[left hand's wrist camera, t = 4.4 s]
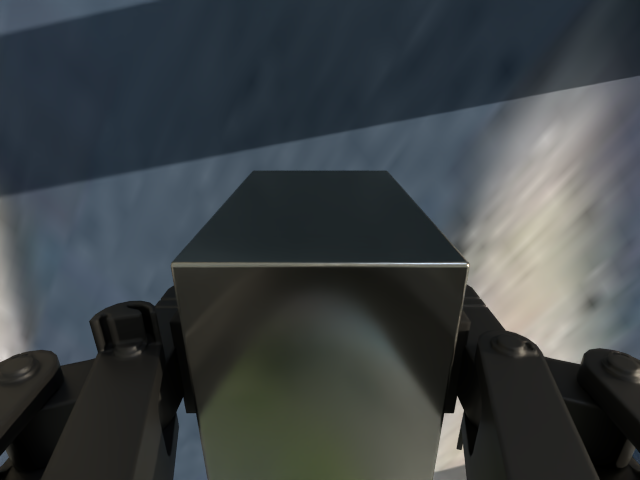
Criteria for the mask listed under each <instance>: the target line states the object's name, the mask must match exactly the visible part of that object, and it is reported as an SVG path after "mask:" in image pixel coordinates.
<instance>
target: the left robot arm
mask: <svg viewBox="0 0 640 480" xmlns="http://www.w3.org/2000/svg"><path fill="white" fill-rule="evenodd" d="M89 322H90V326H91V329H92V333H93V336H94V340H95V343H96V347H97V350H98V354H97V356H96V358H95V359H91V360H87V361H82V362H77V363H72V364H67V365H62V366H60V363H59V360H58V357H57V355H56V354H54V353H53V352H52V351H46V350H37V351H29V352H24V353H21V354H17V355H14V356H12V357H10V358H8V359H6V360H4V361H2V362H0V456H1V454H2V453H3V452H4V451H5V450H6V452H7V454H8V456H9V458H8V459H7V461H6V462H5V463H4V464H3V465H2V466H1V467H0V480H173V476H174V467H175V458H176V448H177V439H178V430H179V424H178V418H177V413H176V412H177V409H178V407H179V405H180V403H181V400H182V398H184V403H185V408H186V413H196V409H195V403H194V397H193V392H192V386H191V380H190V374H189V368H188V363H187V357H186V351H185V345H184V340H183V334H182V328H181V322H180V316H179V311H178V305H177V299H176V293H175V288H174V286H172V287H171V288H169V289H168V290H167V291H166V293H165V294H164V295H163V297H162V298H161V300H159V302H158V303H157V304H156V306H154V305H152V304H151V303H149V302H145V301H128V302H123V303H119V304H115V305H113V306H110V307H108V308H105V309H104V310H102V311H100V312H99V313H97V314H95V316H94V317H93V318H92V319H91V320H90V321H89ZM457 396H458V398H459V400H460V403H461V405H462V407H463V409H464V413H463V418H462V423H461V428H460V433H459V438H458V443H457V449H459V450H462V445H463V448H464V457H465V466H466V475H467V480H640V465H639V464H638V463H637V462H636V460H635V459H634V458H633V457H632V455H633V452H634V450H635V448H636V449H637V450H638V451H639V452H640V360H638V359H636V358H634V357H632V356H630V355H628V354H626V353H623V352H619V351H615V350H609V349H601V348H598V349H591V350H588V351H587V352H586V353H584V355H583V358H582V361H581V364H576V363H571V362H566V361H561V360H556V359H551V358H548V357H544V356H543V354H542V352H541V350H540V349H539V348H538V346H537V345H536V344H534V343H533V342H532V341H530V340H529V339H527V338H526V337H523V336H521V335H519V334H517V333H513V332H509V331H506V330H505V329H504V328H503V327H502V325H501V324H500V323H499V321H498V320H497V319H496V318H495V316H494V315H493V314H492V313H491V311H490V310H489V309H488V307H486V305H485V304H484V302H483V301H482V300H481V299H480V297H479V296H478V295H477V293H476V292H475V291H474V290H473V288H471V287H470V286H468V285H467V284H466V290H465V296H464V301H463V307H462V313H461V319H460V324H459V330H458V336H457V342H456V348H455V353H454V359H453V365H452V371H451V376H450V382H449V388H448V394H447V399H446V405H445V411H444V413H454V410H455V404H456V399H457Z"/></svg>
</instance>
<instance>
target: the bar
mask: <svg viewBox="0 0 640 480" xmlns="http://www.w3.org/2000/svg"><path fill="white" fill-rule="evenodd" d="M469 267H470V265H469V262H468V261H467V260H466V259H465V258H464V257H463V256H462V254H461V253H460V252H459V251H458V250H457V249H456V248H455V247H454V245H453V244H452V243H451V242H450V241H449V240H448V239H447V237H446V236H445V235H444V234H443V233H442V232H441V231H440V230H439V228H438V227H437V226H436V225H435V224H434V223H433V222H432V221H431V219H430V218H429V217H428V216H427V215H426V214H425V213H424V212H423V210H422V209H421V208H420V207H419V206H418V205H417V204H416V203H415V201H414V200H413V199H412V198H411V197H410V196H409V195H408V194H407V192H406V191H405V190H404V189H403V188H402V187H401V186H400V185H399V183H398V182H397V181H396V180H395V179H394V178H393V177H392V176H391V174H390V173H389V172H388V171H252V172H251V174H250V175H249V176H248V177H247V178H246V179H245V180H244V181H243V183H242V184H241V185H240V186H239V187H238V188H237V189H236V190H235V192H234V193H233V194H232V195H231V196H230V197H229V198H228V200H227V201H226V202H225V203H224V204H223V205H222V206H221V207H220V209H219V210H218V211H217V212H216V213H215V214H214V215H213V216H212V218H211V219H210V220H209V221H208V222H207V223H206V224H205V225H204V227H203V228H202V229H201V230H200V231H199V232H198V233H197V235H196V236H195V237H194V238H193V239H192V240H191V241H190V242H189V244H188V245H187V246H186V247H185V248H184V249H183V250H182V251H181V253H180V254H179V255H178V256H177V257H176V258H175V259H174V260H173V262H172V263H171V270H172V276H173V282H174V288H175V293H176V299H177V305H178V311H179V316H180V322H181V328H182V334H183V340H184V345H185V351H186V357H187V363H188V368H189V374H190V380H191V386H192V392H193V397H194V403H195V409H196V415H197V421H198V426H199V432H200V438H201V444H202V449H203V455H204V461H205V467H206V473H207V478H208V480H433V474H434V469H435V463H436V457H437V451H438V445H439V440H440V434H441V428H442V422H443V417H444V411H445V405H446V399H447V394H448V388H449V382H450V376H451V371H452V365H453V359H454V353H455V348H456V342H457V336H458V330H459V324H460V319H461V313H462V307H463V301H464V296H465V290H466V284H467V278H468V273H469Z"/></svg>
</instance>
